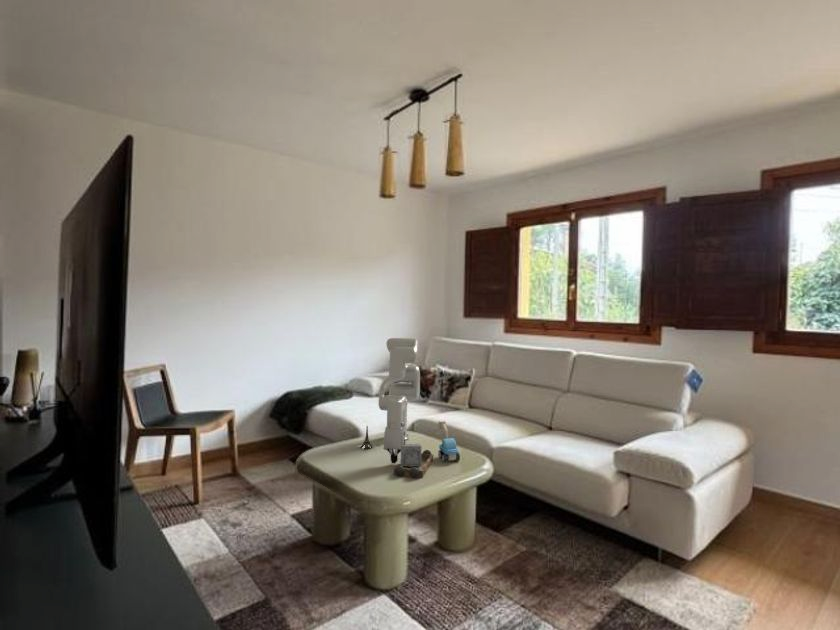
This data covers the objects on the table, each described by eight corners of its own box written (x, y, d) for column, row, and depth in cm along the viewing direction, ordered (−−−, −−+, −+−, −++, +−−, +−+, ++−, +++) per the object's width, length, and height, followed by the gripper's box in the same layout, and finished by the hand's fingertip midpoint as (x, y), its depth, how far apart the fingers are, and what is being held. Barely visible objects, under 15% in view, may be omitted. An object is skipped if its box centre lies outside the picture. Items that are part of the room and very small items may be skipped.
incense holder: (420, 462, 224) (420, 441, 224) (421, 468, 216) (421, 446, 216) (400, 462, 224) (400, 441, 223) (400, 468, 215) (401, 446, 215)
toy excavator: (448, 451, 241) (449, 419, 240) (461, 462, 225) (461, 428, 224) (433, 452, 238) (434, 420, 238) (444, 464, 222) (445, 429, 222)
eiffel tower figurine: (381, 445, 249) (382, 421, 249) (380, 452, 239) (380, 426, 238) (354, 445, 249) (354, 421, 248) (351, 451, 239) (352, 426, 238)
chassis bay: (407, 456, 232) (408, 447, 232) (434, 459, 229) (434, 450, 228) (392, 475, 207) (392, 466, 207) (421, 479, 204) (421, 469, 203)
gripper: (411, 424, 221) (411, 461, 222) (382, 421, 225) (381, 458, 226) (407, 428, 214) (406, 467, 215) (377, 425, 218) (376, 463, 218)
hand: (394, 462), depth 220 cm, fingers closed
